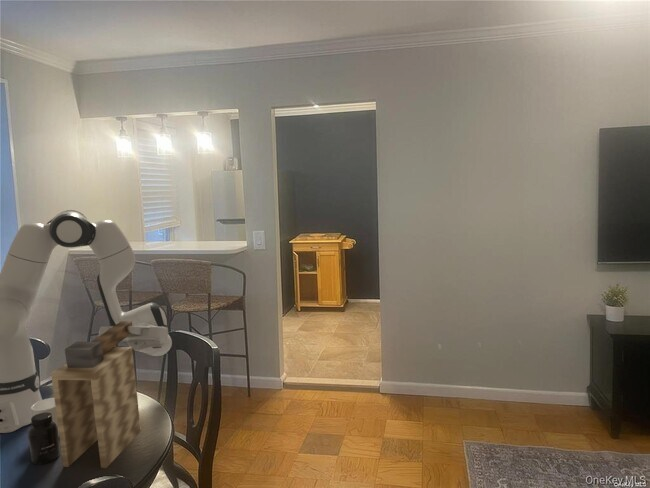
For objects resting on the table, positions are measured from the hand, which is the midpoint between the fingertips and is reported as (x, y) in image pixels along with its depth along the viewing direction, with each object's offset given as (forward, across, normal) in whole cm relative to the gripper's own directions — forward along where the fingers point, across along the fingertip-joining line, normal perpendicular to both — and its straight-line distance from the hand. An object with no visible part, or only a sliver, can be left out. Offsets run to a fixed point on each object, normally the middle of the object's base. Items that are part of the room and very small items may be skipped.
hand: (120, 328), depth 141 cm
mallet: (+6, 0, +7) cm, 9 cm away
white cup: (-8, -20, +30) cm, 37 cm away
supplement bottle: (+2, -13, +36) cm, 38 cm away
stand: (-3, 0, +33) cm, 33 cm away
